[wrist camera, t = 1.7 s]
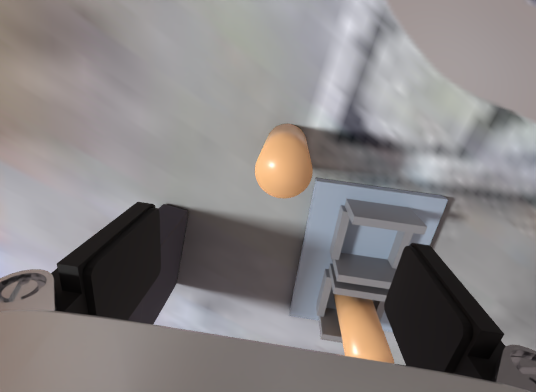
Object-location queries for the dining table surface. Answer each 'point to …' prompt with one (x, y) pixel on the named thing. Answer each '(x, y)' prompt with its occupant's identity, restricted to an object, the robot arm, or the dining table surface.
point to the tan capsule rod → (284, 162)
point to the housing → (358, 259)
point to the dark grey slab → (164, 264)
